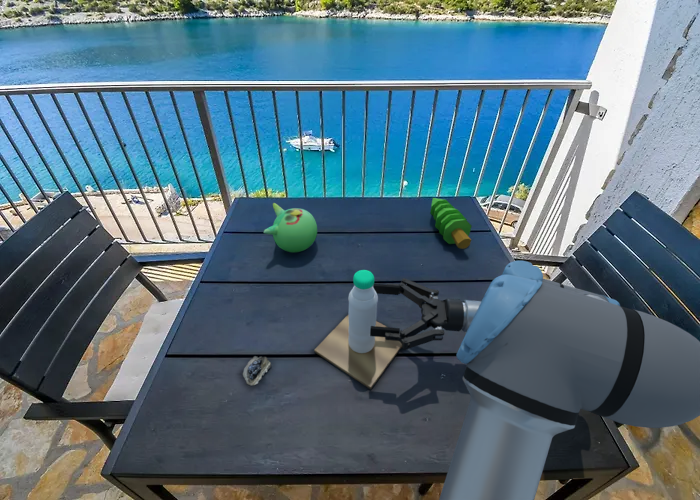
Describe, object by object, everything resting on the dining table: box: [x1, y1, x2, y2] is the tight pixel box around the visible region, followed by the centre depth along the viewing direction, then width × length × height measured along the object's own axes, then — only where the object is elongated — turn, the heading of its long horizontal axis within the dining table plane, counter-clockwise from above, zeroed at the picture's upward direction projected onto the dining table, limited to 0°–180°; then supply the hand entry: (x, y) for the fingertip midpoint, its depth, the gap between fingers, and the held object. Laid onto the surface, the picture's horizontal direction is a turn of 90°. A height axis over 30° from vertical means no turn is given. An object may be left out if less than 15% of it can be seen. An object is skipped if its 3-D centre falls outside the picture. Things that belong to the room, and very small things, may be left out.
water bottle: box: [347, 269, 379, 353], centre depth 86 cm, size 7×7×25 cm
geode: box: [242, 355, 272, 387], centre depth 88 cm, size 7×8×2 cm
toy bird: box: [263, 202, 318, 253], centre depth 124 cm, size 18×17×15 cm
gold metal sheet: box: [313, 314, 402, 390], centre depth 94 cm, size 18×18×1 cm
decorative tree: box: [429, 197, 472, 250], centre depth 133 cm, size 11×12×30 cm
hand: (371, 308), depth 84 cm, fingers open, 13 cm apart
